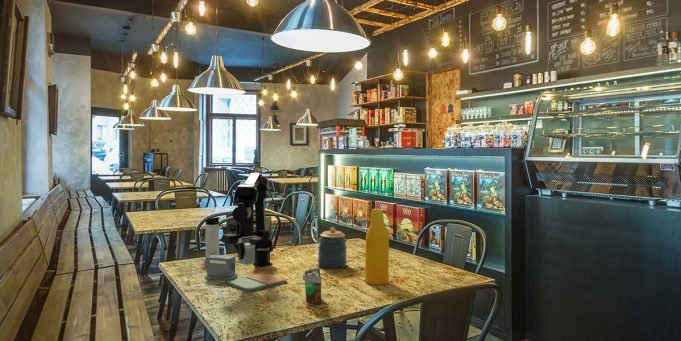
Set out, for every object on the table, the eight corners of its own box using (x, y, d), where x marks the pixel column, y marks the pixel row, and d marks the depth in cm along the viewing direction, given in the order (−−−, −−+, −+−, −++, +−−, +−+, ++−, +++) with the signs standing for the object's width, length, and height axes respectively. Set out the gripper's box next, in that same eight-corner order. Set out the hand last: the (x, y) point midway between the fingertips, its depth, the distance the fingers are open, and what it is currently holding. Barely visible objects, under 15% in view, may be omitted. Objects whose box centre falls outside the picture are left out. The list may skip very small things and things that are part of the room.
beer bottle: (361, 280, 187) (362, 208, 186) (382, 278, 191) (383, 207, 189) (370, 286, 179) (371, 211, 178) (392, 284, 182) (393, 210, 181)
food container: (302, 295, 167) (302, 268, 166) (319, 295, 167) (319, 267, 167) (302, 307, 155) (302, 277, 154) (321, 306, 155) (321, 276, 155)
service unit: (213, 274, 195) (213, 254, 194) (237, 276, 192) (237, 255, 192) (204, 278, 188) (204, 257, 188) (229, 280, 185) (229, 259, 185)
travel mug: (216, 260, 219) (216, 218, 219) (203, 259, 221) (203, 217, 220) (222, 257, 225) (221, 216, 225) (209, 256, 227) (209, 215, 226)
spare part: (248, 260, 181) (248, 242, 181) (255, 262, 178) (255, 244, 178) (238, 262, 178) (237, 244, 178) (244, 264, 175) (244, 246, 175)
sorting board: (262, 275, 194) (262, 272, 194) (287, 282, 183) (287, 280, 183) (224, 283, 181) (224, 281, 181) (248, 292, 170) (248, 289, 170)
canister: (314, 268, 206) (314, 228, 205) (322, 261, 218) (322, 224, 218) (343, 270, 203) (343, 230, 202) (349, 263, 215) (349, 225, 215)
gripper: (254, 213, 190) (254, 251, 191) (213, 218, 176) (213, 259, 177) (271, 216, 182) (271, 256, 183) (229, 221, 169) (229, 264, 169)
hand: (246, 258), depth 178 cm, fingers closed on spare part, 4 cm apart
